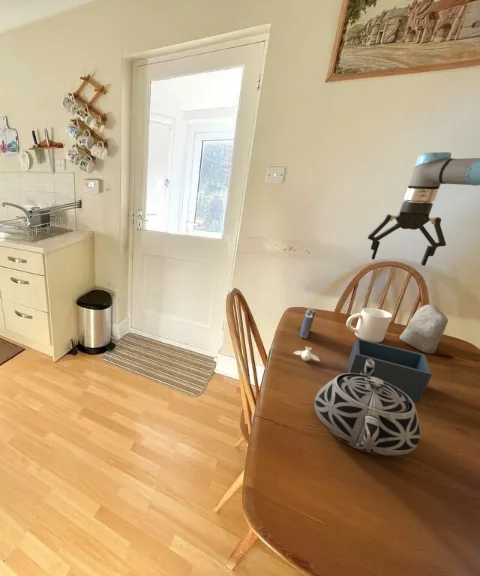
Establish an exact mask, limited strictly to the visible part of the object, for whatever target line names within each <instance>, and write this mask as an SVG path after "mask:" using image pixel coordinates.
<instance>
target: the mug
mask: <svg viewBox="0 0 480 576" xmlns="http://www.w3.org/2000/svg"><path fill="white" fill-rule="evenodd" d="M392 317H393V314H392V313H391V312H389V311H386V310H385V309H384V310H383V309H380V308H375V307H363V308H362V309H361V312H360V313H359V312H358V313H354V314H352V315H350V316H349V317H348V318H347V320H346V327H347V329H348V330H349V331H351V332H353V333H354V335H355V336H356V338H358V339H362V340H366V341H370V342H375V343H381V342H383V341H384V339H385V337H386V334H387V331H388V329H389V326H390V323H391V320H392ZM355 319H358V320H357V323H356V326H355V327H353V326H352V322H353V320H355Z"/></svg>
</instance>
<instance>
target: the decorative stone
mask: <svg viewBox="0 0 480 576" xmlns="http://www.w3.org/2000/svg"><path fill="white" fill-rule="evenodd" d="M448 322H449V318H448V317H447V315H445V313H443V312H442V311H441V310H440V309H439V307H437V306H436V305H434V304H432V303H431V304H425V305H423V306H421V307H420V308H418V309H417V311H416V312H415V313H414V314H413V316H412V317H411V318H410V320H409V322H408V324H407V326H406V327H405V328H404V329H403V332H402V333H401V334H400V335H399V338H398V339H400V340H401V341H402V342H403V343H405V344H408V346H410V347H413V348H414V349H416V350H418V351H419V352H422V353H425V354H435V353H436V351H437V348H438V345H439V341H440V340H441V337H442V336H443V334H444V332H445V330H446V328H447V324H448Z"/></svg>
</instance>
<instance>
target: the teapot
mask: <svg viewBox="0 0 480 576" xmlns="http://www.w3.org/2000/svg"><path fill="white" fill-rule="evenodd" d="M374 366H375V363H374V361H373V360H372V359H367V360H366V364H365V367H364V369H363V371H362V372H361V374H356V373H348V372H345V373H341V374H338V375H337V376H335V377H334V378H332V379H331V380H330V381H328V382H327V383H326V384H324V385H323V387H321V388H320V390H318V392H317V394H316V395H315V399H314V404H313V405H314V406H313V407H314V411H315V413H316V416H317V417H318V420H319V421H320V422H321V424H323V426H324V427H325V428H326V429H327V430H328V431H329V432H330V433H331V434H332V435H333V436H334V437H336V438H337V439H338V440H340V441H341V442H343V443H344V444H346V445H348V446H350V447H351V448H354V449H356V450H358V451H362V452H363V453H367V454H372V455H378V456H388V457H395V456H397V457H398V456H403V455H407V454H410V453H411V452H413V451H415V449H416V448H417V447H418V445H419V443H420V438H421V424H420V419H419V415H418V412H417V408H416V405H415V402H414V400H411V398H410V397H409V396H408V395H407V394H406V393H404V392H403V391H402V390H400V389H399V388H397V387H395V386H393V385H391V384H389V383H387V382H385V381H383V380H381V379H379V378H376V377H374Z"/></svg>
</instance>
